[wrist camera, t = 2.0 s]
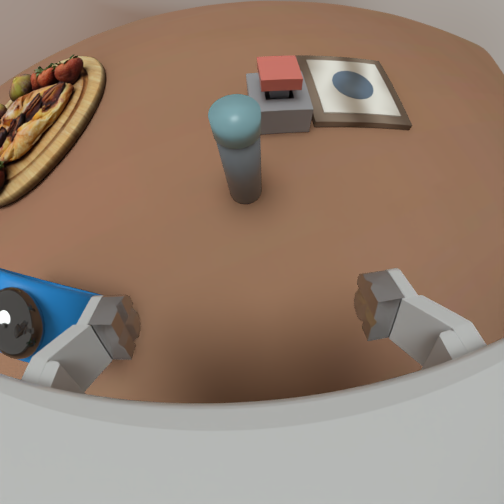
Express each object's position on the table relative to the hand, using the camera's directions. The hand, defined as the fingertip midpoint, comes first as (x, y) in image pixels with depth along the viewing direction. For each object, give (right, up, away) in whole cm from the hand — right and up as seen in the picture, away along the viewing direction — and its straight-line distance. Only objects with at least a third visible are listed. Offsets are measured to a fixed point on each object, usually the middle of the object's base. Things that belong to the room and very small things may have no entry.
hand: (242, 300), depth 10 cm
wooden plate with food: (-38, +24, +25) cm, 51 cm away
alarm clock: (-18, -6, +17) cm, 25 cm away
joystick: (0, +8, +19) cm, 20 cm away
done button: (+3, +19, +17) cm, 26 cm away
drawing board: (+13, +23, +22) cm, 34 cm away
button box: (+3, +18, +21) cm, 28 cm away
